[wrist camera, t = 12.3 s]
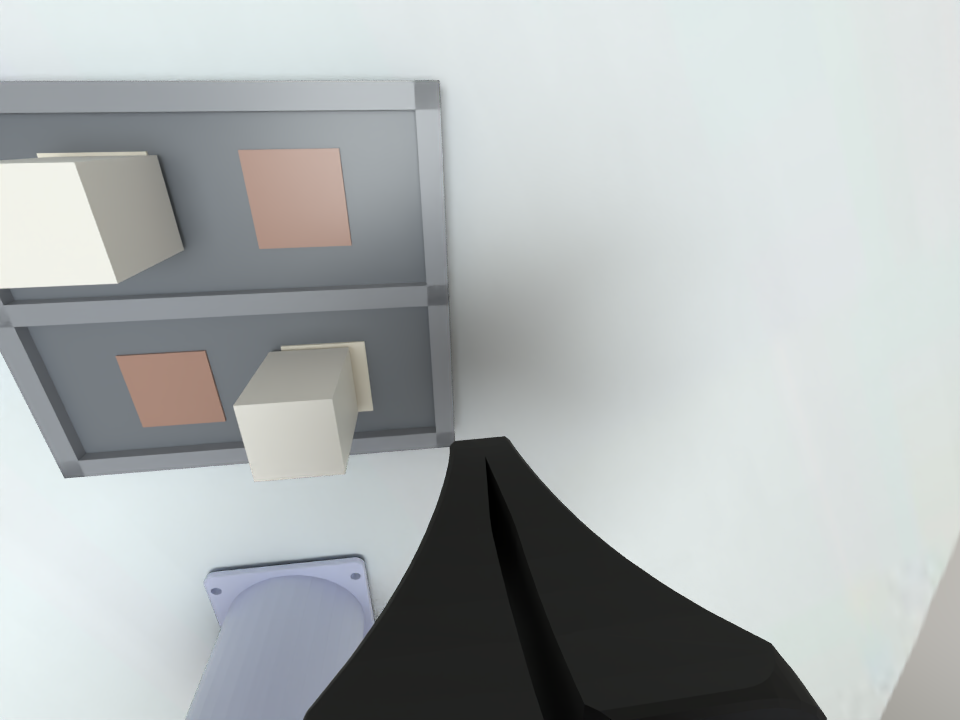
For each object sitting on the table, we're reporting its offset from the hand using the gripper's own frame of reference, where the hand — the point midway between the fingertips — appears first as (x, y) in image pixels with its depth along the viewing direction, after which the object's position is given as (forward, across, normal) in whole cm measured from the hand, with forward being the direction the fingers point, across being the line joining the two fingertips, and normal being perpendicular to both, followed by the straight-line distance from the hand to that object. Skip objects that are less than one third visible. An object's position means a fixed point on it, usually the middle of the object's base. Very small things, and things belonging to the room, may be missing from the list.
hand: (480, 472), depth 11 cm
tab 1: (+8, +11, -6) cm, 15 cm away
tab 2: (+8, +6, +2) cm, 10 cm away
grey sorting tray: (+10, +8, -2) cm, 13 cm away
